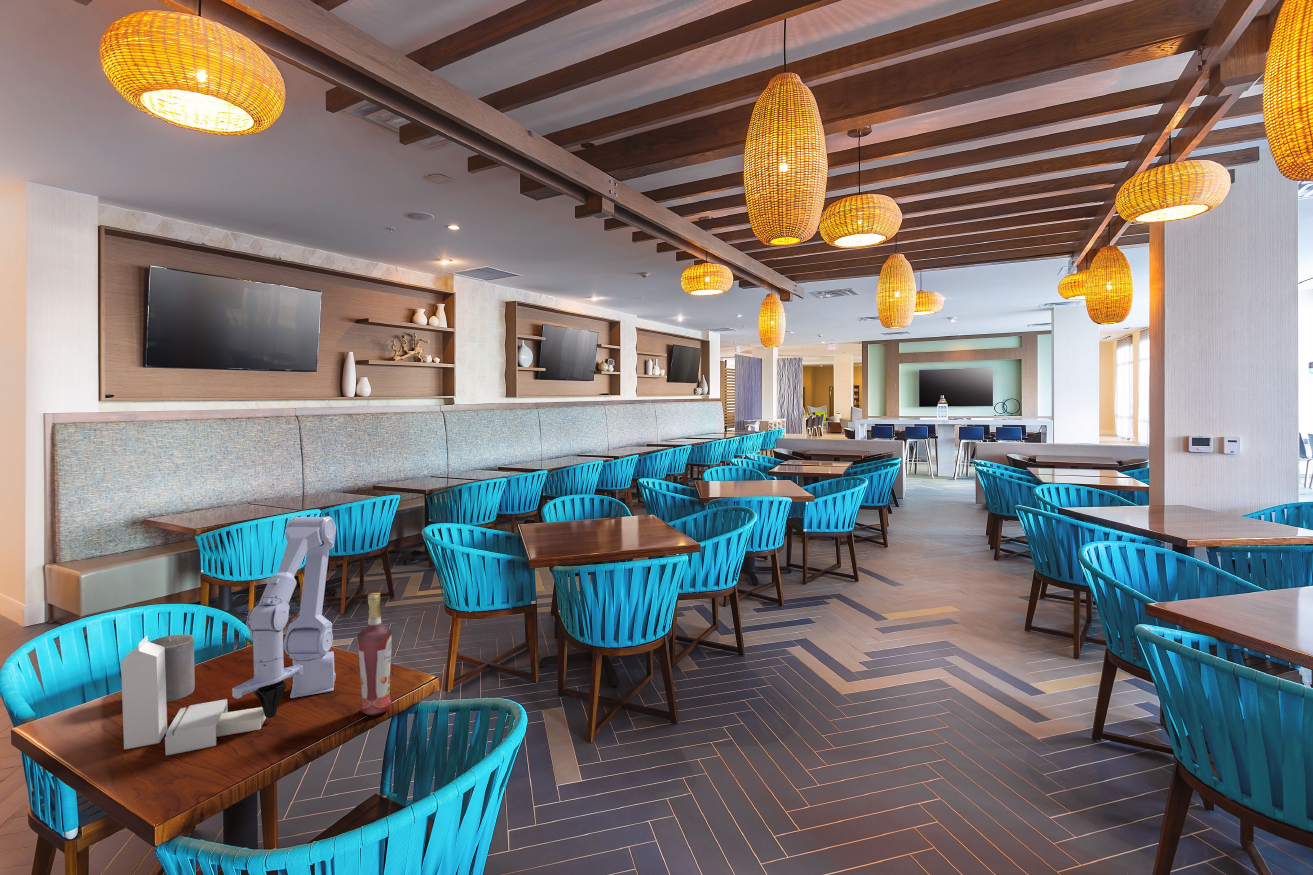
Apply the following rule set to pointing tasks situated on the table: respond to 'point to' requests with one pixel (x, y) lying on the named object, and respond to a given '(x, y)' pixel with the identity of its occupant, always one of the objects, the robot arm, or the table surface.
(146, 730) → the milk
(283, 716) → the table surface
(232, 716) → the cream rectangular beam
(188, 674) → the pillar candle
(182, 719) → the slotted white box
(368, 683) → the liquor
